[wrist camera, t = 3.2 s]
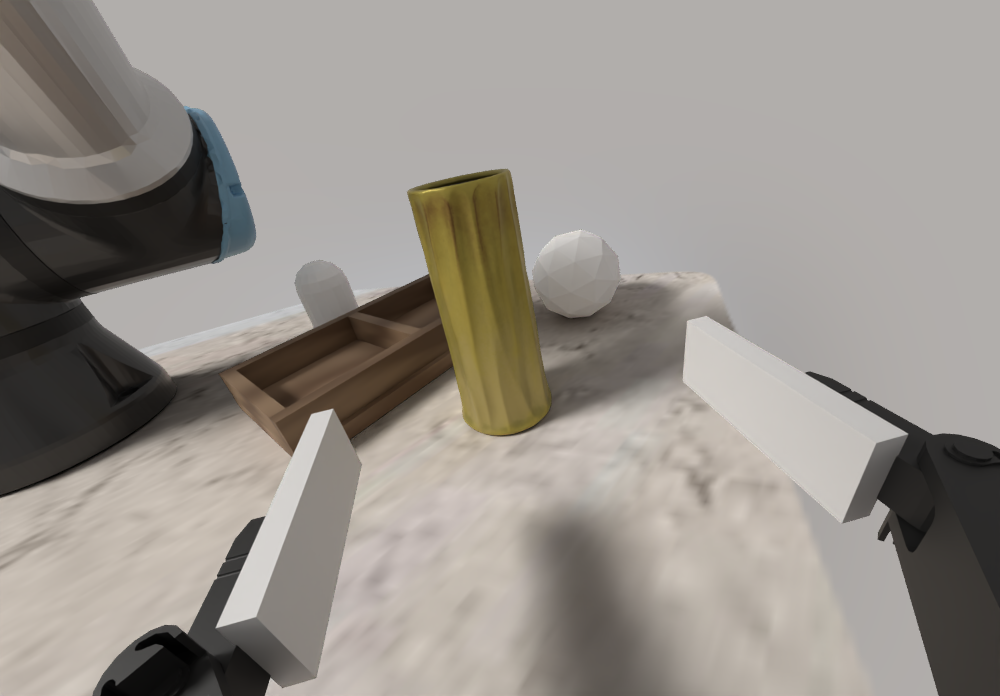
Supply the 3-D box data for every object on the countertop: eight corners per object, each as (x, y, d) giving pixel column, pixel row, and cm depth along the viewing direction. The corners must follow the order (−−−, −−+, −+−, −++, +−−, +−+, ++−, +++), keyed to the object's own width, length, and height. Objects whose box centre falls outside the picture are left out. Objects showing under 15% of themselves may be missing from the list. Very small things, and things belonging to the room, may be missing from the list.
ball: (563, 332, 38) (540, 261, 40) (640, 302, 35) (612, 225, 36) (533, 330, 32) (506, 246, 33) (624, 294, 28) (590, 200, 29)
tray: (240, 408, 31) (216, 372, 30) (439, 299, 45) (431, 271, 44) (306, 470, 23) (278, 425, 21) (524, 315, 37) (518, 280, 35)
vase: (544, 372, 28) (513, 164, 21) (560, 427, 22) (527, 171, 15) (464, 387, 28) (407, 185, 21) (462, 445, 23) (385, 200, 16)
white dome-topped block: (328, 321, 46) (300, 259, 42) (369, 314, 45) (344, 250, 42) (309, 342, 41) (275, 273, 37) (355, 334, 41) (325, 264, 37)
